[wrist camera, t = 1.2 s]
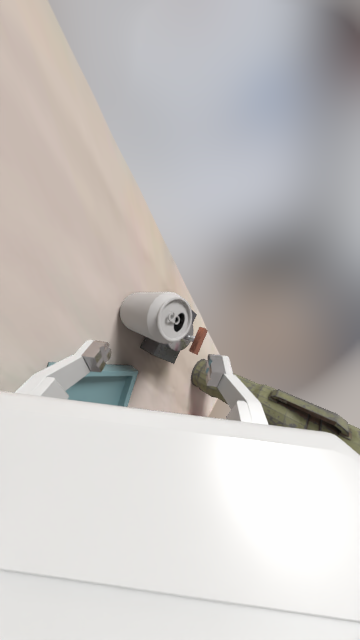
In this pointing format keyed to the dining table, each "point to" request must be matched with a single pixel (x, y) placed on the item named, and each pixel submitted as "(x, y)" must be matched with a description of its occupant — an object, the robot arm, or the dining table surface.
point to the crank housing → (176, 344)
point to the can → (157, 315)
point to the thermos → (287, 409)
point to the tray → (105, 385)
